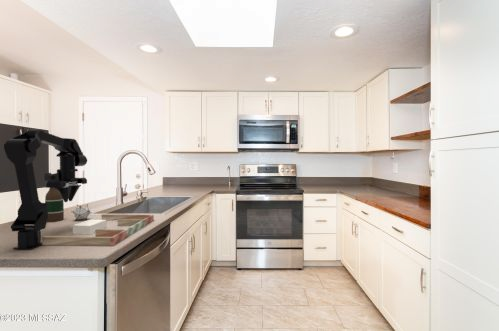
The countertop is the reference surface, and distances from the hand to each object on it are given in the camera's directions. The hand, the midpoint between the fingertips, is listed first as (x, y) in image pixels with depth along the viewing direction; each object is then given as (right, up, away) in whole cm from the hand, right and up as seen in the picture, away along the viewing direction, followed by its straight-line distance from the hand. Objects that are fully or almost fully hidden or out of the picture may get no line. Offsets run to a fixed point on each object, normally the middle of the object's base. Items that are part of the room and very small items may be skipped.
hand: (68, 201), depth 120 cm
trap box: (+17, -13, 0) cm, 22 cm away
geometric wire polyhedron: (-7, -13, +21) cm, 25 cm away
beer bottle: (-20, -13, +19) cm, 30 cm away
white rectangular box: (+10, -13, 0) cm, 17 cm away
